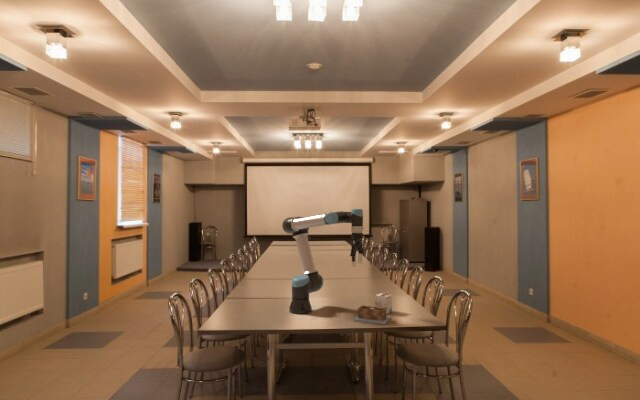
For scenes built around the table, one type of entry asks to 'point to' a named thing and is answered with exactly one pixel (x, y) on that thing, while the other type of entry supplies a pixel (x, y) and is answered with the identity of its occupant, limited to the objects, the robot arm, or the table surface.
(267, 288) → the table surface
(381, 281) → the table surface
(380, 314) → the hollow block
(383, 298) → the ink box
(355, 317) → the post board
